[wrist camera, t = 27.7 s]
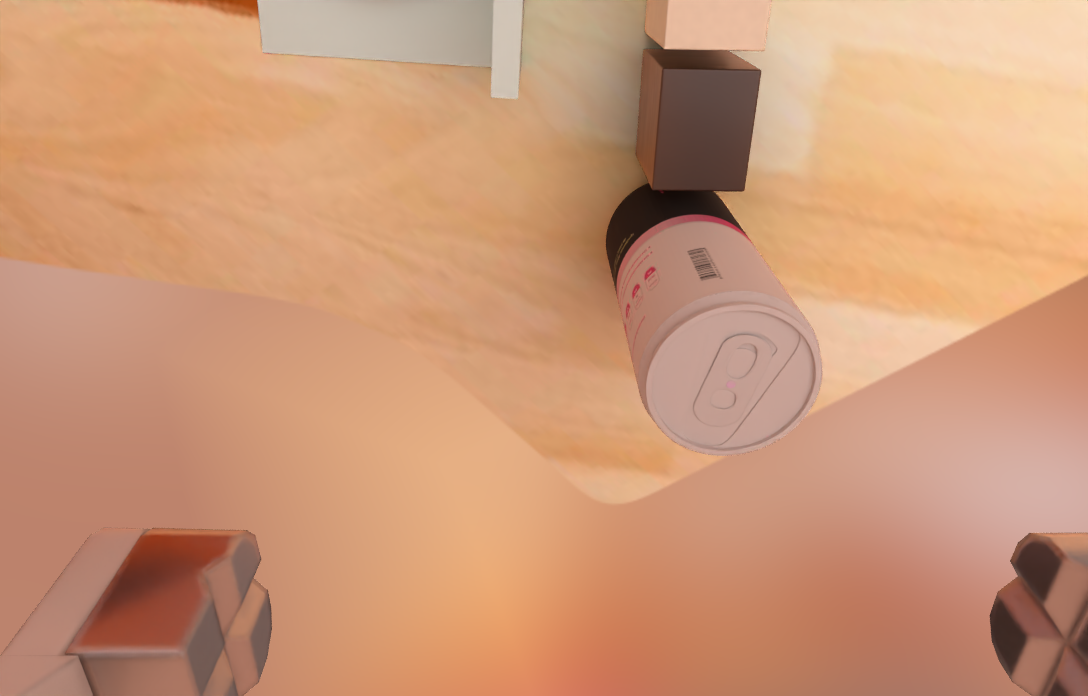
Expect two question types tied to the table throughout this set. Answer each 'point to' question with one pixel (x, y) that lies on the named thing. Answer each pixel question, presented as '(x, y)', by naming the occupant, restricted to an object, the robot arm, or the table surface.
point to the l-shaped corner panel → (402, 33)
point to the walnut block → (696, 119)
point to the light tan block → (708, 24)
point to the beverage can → (708, 324)
